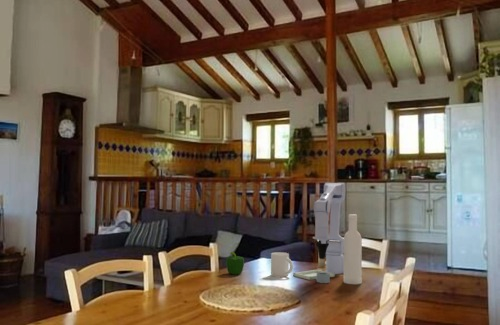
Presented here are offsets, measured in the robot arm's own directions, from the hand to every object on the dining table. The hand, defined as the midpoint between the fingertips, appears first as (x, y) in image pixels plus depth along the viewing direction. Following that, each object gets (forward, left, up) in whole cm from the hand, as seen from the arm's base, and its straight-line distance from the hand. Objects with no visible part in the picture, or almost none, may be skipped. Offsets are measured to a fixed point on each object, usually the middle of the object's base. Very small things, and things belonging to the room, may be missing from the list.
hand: (321, 258), depth 204 cm
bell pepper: (+22, -35, -11) cm, 43 cm away
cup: (+1, +2, -10) cm, 11 cm away
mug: (+7, -18, -11) cm, 22 cm away
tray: (-4, -9, -10) cm, 14 cm away
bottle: (-9, +10, -11) cm, 17 cm away
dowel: (0, 0, -4) cm, 4 cm away
